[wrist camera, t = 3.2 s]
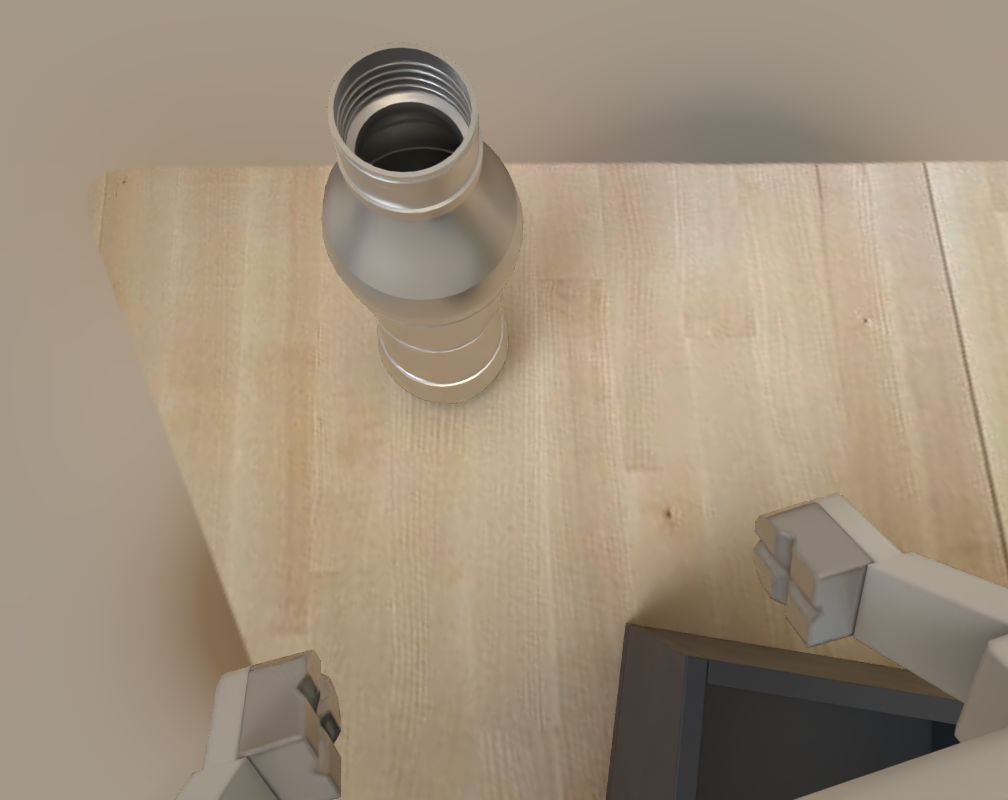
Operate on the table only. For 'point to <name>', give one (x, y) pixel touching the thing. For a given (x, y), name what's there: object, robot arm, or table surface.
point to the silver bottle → (421, 219)
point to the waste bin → (761, 719)
